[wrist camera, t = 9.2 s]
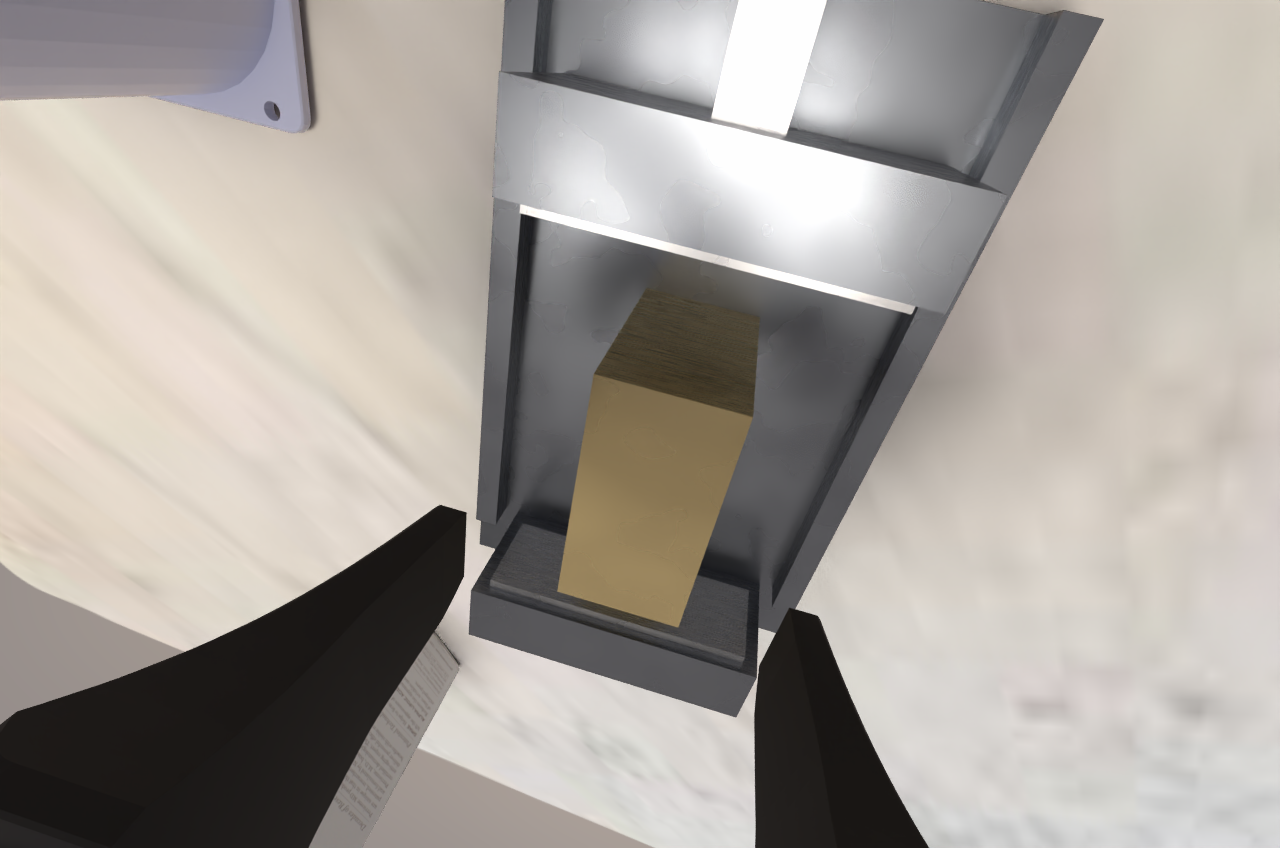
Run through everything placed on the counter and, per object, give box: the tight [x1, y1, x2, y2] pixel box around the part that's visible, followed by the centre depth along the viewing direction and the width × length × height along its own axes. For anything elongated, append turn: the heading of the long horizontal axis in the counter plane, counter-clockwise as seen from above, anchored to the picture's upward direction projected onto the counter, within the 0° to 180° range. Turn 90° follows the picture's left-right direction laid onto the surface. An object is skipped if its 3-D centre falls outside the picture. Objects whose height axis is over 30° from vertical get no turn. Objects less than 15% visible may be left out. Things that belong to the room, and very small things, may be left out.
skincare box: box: [309, 632, 459, 848], centre depth 26 cm, size 6×4×12 cm
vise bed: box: [469, 0, 1104, 717], centre depth 17 cm, size 13×21×5 cm, turn 169°
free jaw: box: [492, 0, 1007, 315], centre depth 12 cm, size 10×8×4 cm
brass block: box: [557, 288, 760, 627], centre depth 17 cm, size 4×7×6 cm, turn 169°
